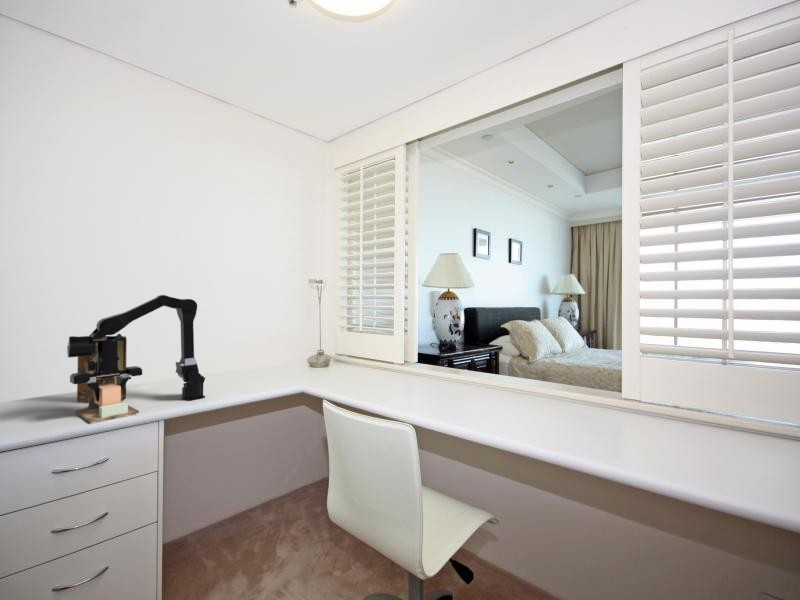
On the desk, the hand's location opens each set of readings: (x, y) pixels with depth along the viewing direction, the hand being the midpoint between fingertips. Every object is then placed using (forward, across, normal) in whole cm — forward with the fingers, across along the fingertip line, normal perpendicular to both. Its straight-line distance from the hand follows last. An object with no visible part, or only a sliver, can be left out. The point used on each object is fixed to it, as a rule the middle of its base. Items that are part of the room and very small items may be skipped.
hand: (107, 399), depth 124 cm
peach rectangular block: (+1, 0, 0) cm, 1 cm away
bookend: (+4, 0, -7) cm, 8 cm away
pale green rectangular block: (+5, 0, +7) cm, 8 cm away
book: (+5, -3, -20) cm, 21 cm away
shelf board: (+5, 0, 0) cm, 5 cm away
